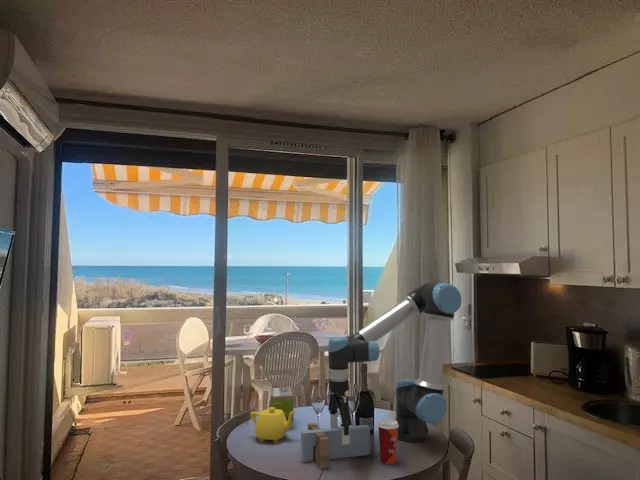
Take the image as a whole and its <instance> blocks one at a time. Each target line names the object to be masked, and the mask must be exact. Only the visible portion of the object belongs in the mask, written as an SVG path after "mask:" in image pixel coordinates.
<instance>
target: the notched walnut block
mask: <svg viewBox="0 0 640 480" xmlns="http://www.w3.org/2000/svg"><path fill="white" fill-rule="evenodd" d="M317 429H321V428H320V426H319V425H318V424H317V422H311V423H307V430H317ZM313 461H315V462H316V464H317V466H318V467H319V469H320V470H326V469H330V459H329V438H328V437H327V436H326V434H325V433H324V432H321V433H316V446H313Z"/></svg>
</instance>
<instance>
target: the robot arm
mask: <svg viewBox="0 0 640 480" xmlns="http://www.w3.org/2000/svg"><path fill="white" fill-rule="evenodd" d="M462 302H463V300H462V294H461V292H460V290H459V289H458V288H457V287H456V286H454V285H453V284H450V283H447V282H425V283H423V284H421V285H419V286H417V288H415V289H413V290H412V291H410V292H409V293H407V294H406V295H405V296H404V297H403V300H402V301H400V302H398V304H396V305H394V306H393V307H392V308H390V309H389V310H387V311H386V312H384V313H383V314H381V315H380V316H379V317H377V318H375V319H374V320H373V321H371V322H370V323H368V324H367V325H365V326H363V327H362V328H361V329H360V330H358V331H357V332H355V333H353V334H352V335H347V336H336V337H335V336H334V337H331V338H329V340H328V348H327V351H328V371H327V374H328V379H329V380H328V390H329V391H330V395H329V400H328V410H327V411H329V414H330V415H329V417H330V419H329V420H330V421H329V424H330V426H329V428H338V423H339V422H338V421H339V420H338V413H339V416H340V420H341V424H340V427H342V445H343V444H350V438H349V426H353V425H352V418H351V410H350V405H349V396H348V395H347V396H346V395H345V393H346V392H348V391H349V390H350V381H349V378H350V373H349V372H350V367H349V364H350V363H351V364H352V363H365V362H367V363H368V362H369V363H370V362H371V363H372V362H376V361H378V360H379V357H380V347H379V343H378V342H377V341H379V340H380V339H382V338H384V337H385V336H387V334H389V333H391V332H392V331H393V330H395V329H396V328H398V327H399V326H400V325H402V324H404V323H405V322H406V321H408V320H409V319H411V318H412V317H414V316H419V315H420V314H422V313H423V314H424V316H425V317H426V326H425V332H424V338H423V339H424V340H423V346H422V353H421V360H420V366H419V367H420V368H419V373H418V378H417V379H416V378H406V379H399V380H397V381H396V385H395V405H396V408H395V410H396V414H395V419H394V420H395V421H397V422H398V425H399V427H398V437H397V440H399V441H403V442H411V443H417V442H424V441H427V440H428V439H430V430H429V428H428V425H427V424H434V423H437V422H439V421H441V419H443V418H444V416H445V415H446V413H447V409H448V405H447V403H448V402H447V400H446V399H445V397H444V389H445V388H444V386H443V385H442V383H441V381H442V375H443V370H444V369H443V368H444V361H445V354H446V349H447V348H446V347H447V338H448V333H449V327H450V326H449V325H450V322H452V321H453V320H455V319H454V318H455V313H456V312H457V311H458V310H460V308H461V306H462Z"/></svg>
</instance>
